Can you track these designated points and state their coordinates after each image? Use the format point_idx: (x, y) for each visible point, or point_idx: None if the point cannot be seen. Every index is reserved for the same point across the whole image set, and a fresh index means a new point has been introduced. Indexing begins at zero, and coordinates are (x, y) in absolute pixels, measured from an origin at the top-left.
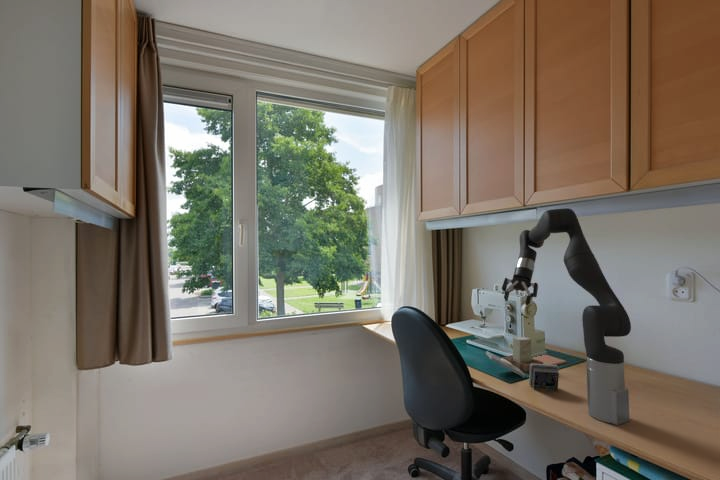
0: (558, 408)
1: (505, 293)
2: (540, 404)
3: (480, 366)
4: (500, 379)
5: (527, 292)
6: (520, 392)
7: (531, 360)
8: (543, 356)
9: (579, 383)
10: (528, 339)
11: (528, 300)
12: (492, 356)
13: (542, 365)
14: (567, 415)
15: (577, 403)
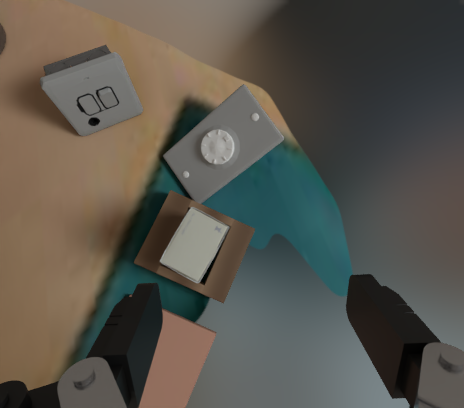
0: (64, 26)
1: (423, 332)
2: (100, 24)
3: (291, 170)
4: (214, 109)
5: (109, 400)
6: (151, 60)
7: (173, 270)
8: (160, 392)
9: (31, 206)
10: (167, 247)
11: (122, 316)
12: (247, 98)
13: (84, 63)
14: (44, 5)
15: (29, 72)
